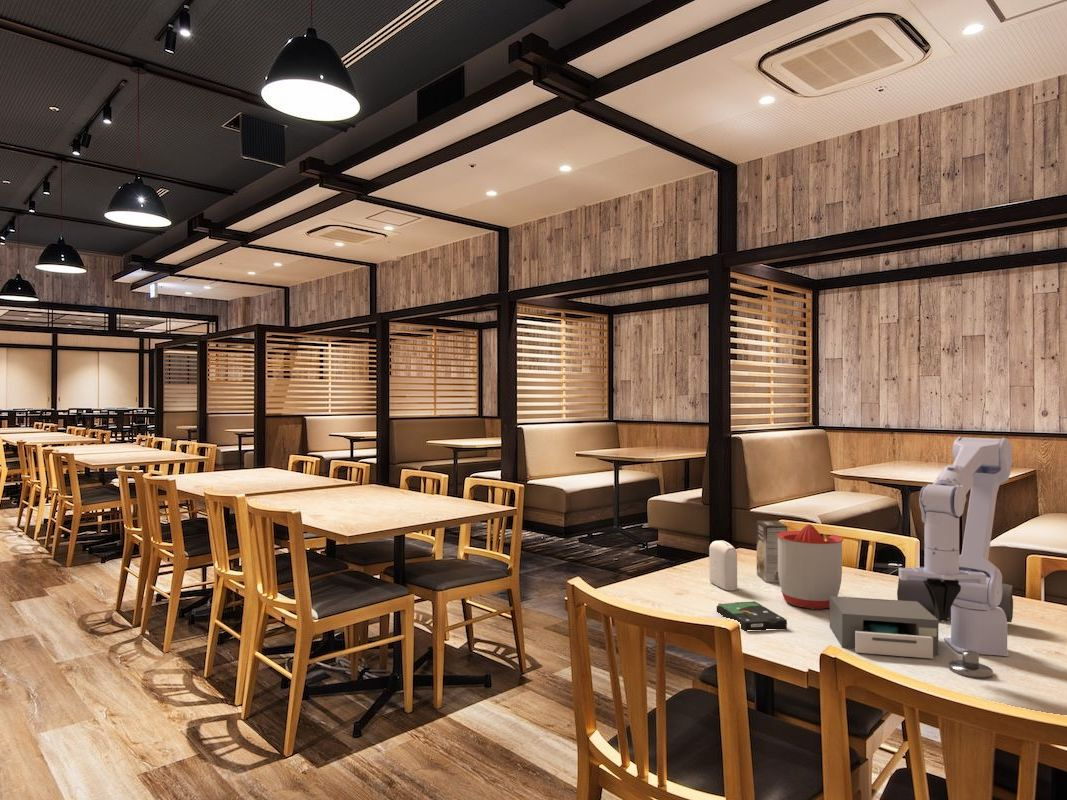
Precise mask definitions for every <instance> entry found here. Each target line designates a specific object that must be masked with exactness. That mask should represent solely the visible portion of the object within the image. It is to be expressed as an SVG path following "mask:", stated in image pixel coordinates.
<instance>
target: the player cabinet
mask: <svg viewBox="0 0 1067 800" xmlns="http://www.w3.org/2000/svg"><path fill="white" fill-rule="evenodd" d="M872 621H882V622H888V623H892V624H895V625H897V626H898V627H899V628H900V629H901V630H902V631H903V632H904V633H905V634H906V635H917V636H930V637H932V638H933V656H939V622H940V621H939V620H938V619H937V618H936V616H933V615H932V614H931V613H930V612H929V611H928V610H926V609H925V608H924V607H923V606H922V605H921V604H920V603H918V602H917V601H901V600H898V599H882V598H870V597H869V598H865V597H855V596H854V597H851V596H830V608H829V629H830V630H831V631H832V633H833V635H834V637H835V638H836V640H837V642H838V643H839V645H840V646H841V648H844V649H855V631H862V632H863V625H869V622H872Z"/></svg>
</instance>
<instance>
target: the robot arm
mask: <svg viewBox="0 0 1067 800" xmlns="http://www.w3.org/2000/svg"><path fill="white" fill-rule="evenodd" d="M952 459H953V463H952V464H948V465H947V466H945V467H944V468H942V470H941V472H939V474H938V475H937V477H936V479H935V480H934V481H933V482H932V483H928V484H927V485H926V486H922V488H921V489H920V491H919V500H918V501H919V502H918V503H919V509H920V512H921V522H922V523H924V541H923V542H924V548H923V549H924V552H923V553H924V556H923V557H924V558H923V559H924V560H923V561H924V563H923V564H924V565H923V566H924V567H898V579H899V578H900V579H901V580H907V579H908V580H923V583H924V585H925V587H926V589H927V591H928V593H929V595H930V597H931V600H932V603H933V606H934V610H935V616H934V617H935V618H937V619H938V620H939V622H948V620H949V619H948V615H949V612H950V609H951V619H950V637H943V640H944V642H945V643H946V644H947V645H948V646H949V647H951V648H952V649H953V650H954V651H955V652H957V653H961V654H963V651H964V650H968V651H974V652H977V653H978V654H979V655H990V656H999V657H1000V656H1001V657H1009V656H1010V654H1009V652H1008V622H1007V618H1006V615H1005V612H1004V611H1003V609H1002V608H1000V607H997V606H998V605H999V604H1000V602H1001V599H1002V583H1003V574H1002V572H1001V571H1000V569H999V567H998V566H996V565H995V564H994V563H992V562H991V561H990V560H989V556H990V555H989V554H990V547H991V543H992V542H991V540H992V532H993V526H994V517H995V511H996V503H997V496H998V491H999V489H1000V486H1001V484H1003V483H1005V482H1007V481H1009V479H1010V475H1011V470H1012V466H1013V465H1012V463H1013V447H1012V443H1011V441H1010V440H1009V439H1008V438H1007V437H1006V438H1005V437H1003V438H989V437H988V438H987V437H985V438H984V437H963V436H958V437H956V439H955V440H954V441H953V444H952ZM969 491H970V494H969V500H968V506H967V513H966V520H965V527H964V532H963V533H964V535H963V541H962V549H961V554H960V517H961V516H962V515H963V514H964V510H965V504H966V503H967V502H966V501H967V494H968V493H969Z"/></svg>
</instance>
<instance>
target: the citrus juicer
mask: <svg viewBox="0 0 1067 800" xmlns="http://www.w3.org/2000/svg"><path fill="white" fill-rule="evenodd" d="M777 536H778V576H779V582H778V583H779V587H780V590H781V594H782V597H783V599H784V601H785V602H786V603H787V604H789V605H793V606H795V607H801V608H807V609H812V610H816V611H818V610H822V609H830V596H838V595H839V593H840V589H841V585H842V578H843V577H842V575H843V571H842V570H843V541H844V538H843V537H841V536H839V535H837V534H836V535H835V534H831V535H828V537H827V540H825V539H824V538H823V536H822V535H821V534H820V532H819V531H818V530H817V529H816V527H814V525H812V524H810V523H809V524H807V525H805V526H804V527H803V528H801V530H787V531H785V532H780V533H778V534H777ZM838 597H839V596H838Z"/></svg>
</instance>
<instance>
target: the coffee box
mask: <svg viewBox="0 0 1067 800" xmlns="http://www.w3.org/2000/svg"><path fill="white" fill-rule="evenodd" d="M788 530H789V529H788V526H787V525H786V524H785V523H782V522H781V521H779V520H756V575H757V576H758V577H759V578H760V579H761V578H762V581H764V582H765V583H780V582H779V576H778V536H777V534H778V533H780V532H785V531H788Z"/></svg>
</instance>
